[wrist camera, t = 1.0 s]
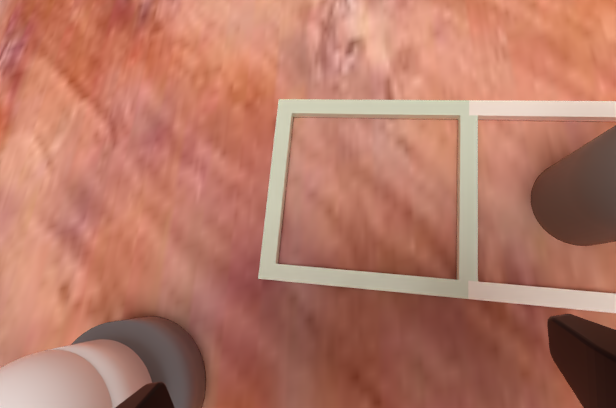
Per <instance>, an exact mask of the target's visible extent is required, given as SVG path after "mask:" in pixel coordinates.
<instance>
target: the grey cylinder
mask: <svg viewBox="0 0 616 408" xmlns="http://www.w3.org/2000/svg"><path fill="white" fill-rule="evenodd" d="M531 205H532V210H533V213H534V215H535V217H536V219H537V221H538V222H539V224H540V225H541V226H542V227H543V228H544V229H545V230H546V231H547V232H548V233H549V234H551V235H552V236H553V237H555V238H557V239H559V240H561V241H563V242H566V243H569V244H573V245H580V246H589V245H596V244H602V243H608V242H614V241H616V126H614V127H612V128H611V129H609V130H608V131H606V132H604V133H603V134H601V135H600V136H598V137H597V138H595V139H593V140H592V141H590V142H589V143H587V144H586V145H584V146H582V147H581V148H579V149H578V150H576V151H574V152H573V153H571V154H570V155H568V156H567V157H565V158H563V159H562V160H560V161H559V162H557V163H555V164H554V165H552V166H551V167H549V168H548V169H546V170H545V171H544V172H542V173H541V175H540V176H539V177H538V178H537V180H536V181H535V183H534V185H533V188H532V192H531Z"/></svg>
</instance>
